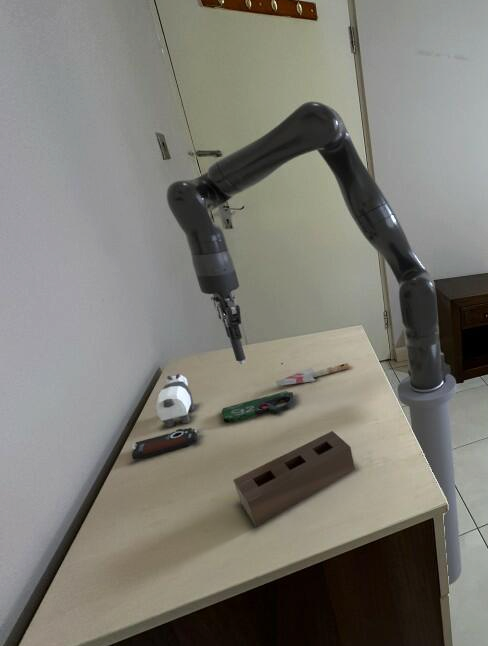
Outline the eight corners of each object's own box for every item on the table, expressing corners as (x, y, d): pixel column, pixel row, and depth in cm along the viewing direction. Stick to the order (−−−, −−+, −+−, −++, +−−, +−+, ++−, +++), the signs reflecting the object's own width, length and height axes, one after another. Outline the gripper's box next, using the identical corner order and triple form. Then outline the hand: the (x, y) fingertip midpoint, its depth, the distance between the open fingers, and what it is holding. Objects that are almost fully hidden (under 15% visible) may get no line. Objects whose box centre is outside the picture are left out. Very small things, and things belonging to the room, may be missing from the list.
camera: (136, 437, 91) (196, 422, 96) (140, 448, 91) (199, 431, 97) (129, 451, 85) (193, 434, 91) (134, 462, 86) (196, 444, 92)
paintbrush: (274, 376, 115) (346, 359, 126) (276, 384, 115) (347, 367, 127) (276, 381, 112) (349, 364, 123) (278, 390, 113) (350, 371, 124)
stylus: (245, 360, 103) (232, 317, 98) (247, 362, 101) (235, 319, 97) (236, 363, 101) (223, 319, 97) (238, 365, 100) (225, 321, 96)
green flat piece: (221, 426, 96) (221, 406, 103) (223, 431, 96) (223, 411, 104) (296, 405, 104) (291, 388, 112) (297, 409, 105) (292, 392, 112)
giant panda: (190, 424, 99) (178, 391, 95) (162, 431, 97) (148, 397, 93) (199, 396, 111) (189, 366, 107) (174, 401, 108) (163, 371, 105)
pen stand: (241, 503, 76) (232, 479, 74) (337, 452, 89) (332, 430, 87) (256, 527, 71) (247, 502, 69) (355, 469, 84) (350, 446, 82)
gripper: (243, 272, 91) (261, 340, 97) (225, 262, 99) (242, 326, 106) (204, 279, 85) (226, 351, 92) (188, 268, 94) (209, 335, 100)
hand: (235, 337), depth 99 cm, fingers closed on stylus, 2 cm apart
